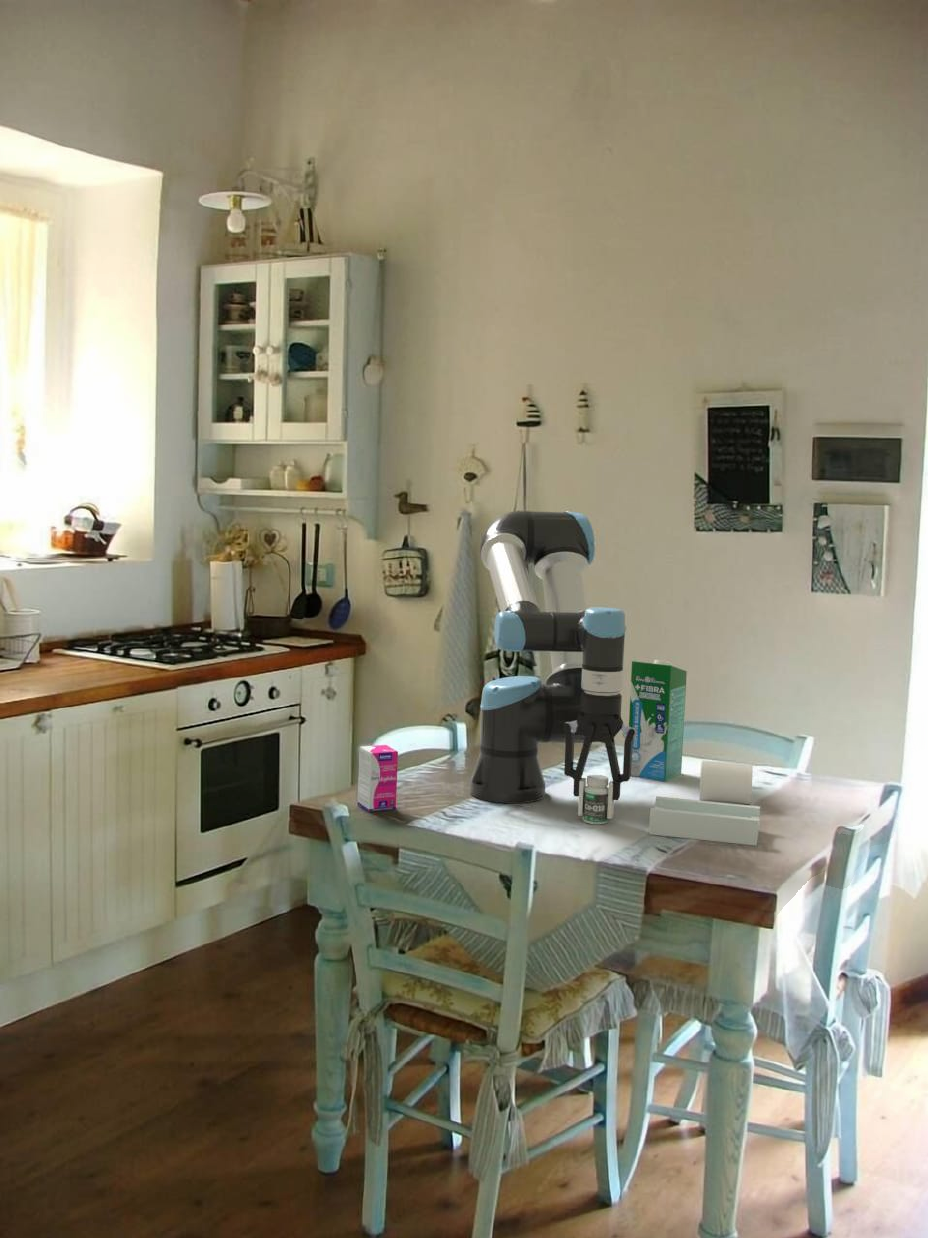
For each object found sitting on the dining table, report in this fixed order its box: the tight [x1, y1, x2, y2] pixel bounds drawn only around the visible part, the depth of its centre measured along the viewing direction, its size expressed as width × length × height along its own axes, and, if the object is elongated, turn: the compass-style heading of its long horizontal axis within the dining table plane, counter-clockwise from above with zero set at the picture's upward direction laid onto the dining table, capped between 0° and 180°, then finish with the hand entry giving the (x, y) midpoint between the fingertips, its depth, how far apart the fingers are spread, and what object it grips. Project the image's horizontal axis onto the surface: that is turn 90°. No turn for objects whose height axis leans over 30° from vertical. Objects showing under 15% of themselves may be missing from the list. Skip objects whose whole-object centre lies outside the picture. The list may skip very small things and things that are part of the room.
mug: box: [698, 760, 754, 805], centre depth 249 cm, size 12×10×8 cm
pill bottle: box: [582, 774, 609, 826], centre depth 230 cm, size 5×5×8 cm
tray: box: [648, 795, 761, 847], centre depth 225 cm, size 19×10×4 cm, turn 75°
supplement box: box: [357, 744, 399, 813], centre depth 235 cm, size 6×6×12 cm
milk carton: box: [628, 659, 688, 782], centre depth 267 cm, size 9×9×25 cm
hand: (595, 814), depth 230 cm, fingers closed on pill bottle, 5 cm apart
